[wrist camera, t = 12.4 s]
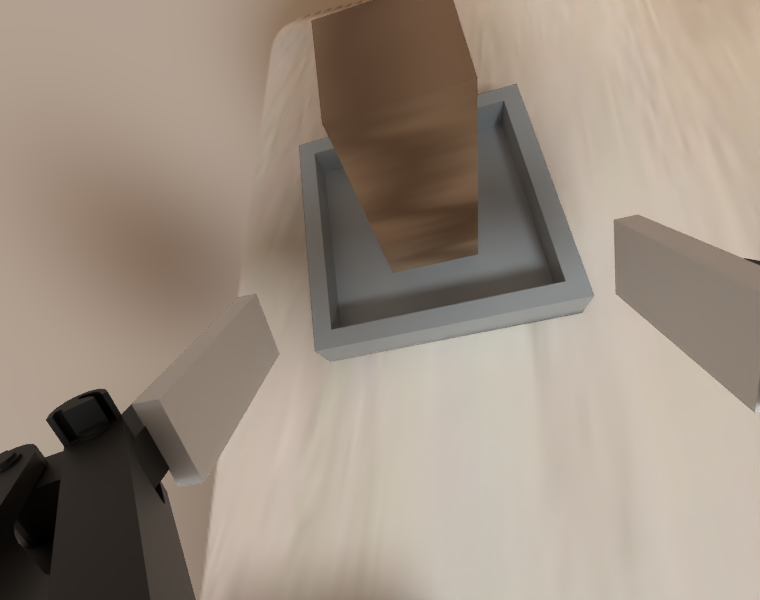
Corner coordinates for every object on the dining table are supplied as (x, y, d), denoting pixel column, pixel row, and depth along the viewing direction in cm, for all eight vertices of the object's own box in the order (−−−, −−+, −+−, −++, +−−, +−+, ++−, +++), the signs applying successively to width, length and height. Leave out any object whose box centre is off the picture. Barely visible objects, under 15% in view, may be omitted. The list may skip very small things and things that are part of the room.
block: (460, 183, 25) (445, -24, 14) (478, 254, 23) (477, 77, 12) (382, 202, 26) (311, 20, 15) (393, 273, 24) (322, 122, 13)
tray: (513, 115, 27) (516, 83, 25) (582, 312, 22) (594, 295, 19) (313, 169, 29) (299, 145, 27) (330, 361, 24) (314, 351, 21)
